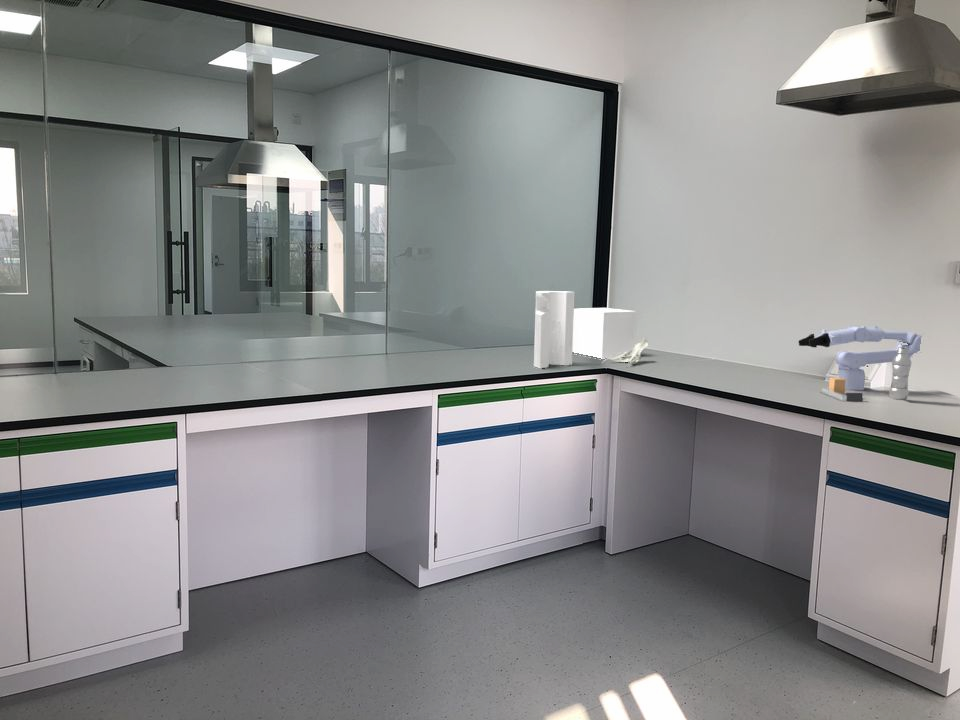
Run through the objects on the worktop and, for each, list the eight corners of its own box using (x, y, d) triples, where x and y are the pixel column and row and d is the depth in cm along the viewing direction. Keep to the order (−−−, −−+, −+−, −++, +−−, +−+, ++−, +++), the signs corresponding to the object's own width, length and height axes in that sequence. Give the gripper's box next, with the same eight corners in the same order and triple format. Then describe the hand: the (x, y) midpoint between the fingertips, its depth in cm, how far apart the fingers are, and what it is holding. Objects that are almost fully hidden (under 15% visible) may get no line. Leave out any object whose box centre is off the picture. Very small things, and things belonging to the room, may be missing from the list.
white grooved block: (573, 365, 364) (541, 369, 351) (556, 362, 373) (524, 366, 360) (575, 292, 359) (543, 292, 346) (558, 290, 368) (526, 291, 355)
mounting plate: (843, 394, 300) (844, 385, 299) (866, 403, 282) (867, 393, 281) (819, 394, 300) (820, 384, 299) (840, 403, 282) (841, 393, 281)
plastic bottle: (901, 398, 293) (906, 347, 291) (911, 402, 287) (916, 349, 284) (884, 398, 293) (889, 346, 290) (894, 402, 286) (899, 349, 284)
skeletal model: (600, 363, 373) (626, 327, 383) (608, 376, 378) (633, 340, 388) (626, 367, 361) (652, 329, 370) (634, 380, 366) (659, 342, 375)
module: (839, 392, 299) (840, 377, 298) (844, 394, 295) (845, 379, 294) (828, 392, 299) (829, 377, 298) (833, 394, 295) (834, 379, 294)
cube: (634, 358, 397) (636, 311, 394) (601, 360, 387) (603, 312, 383) (603, 352, 419) (605, 307, 415) (572, 354, 408) (573, 308, 405)
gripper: (824, 328, 313) (793, 333, 311) (845, 327, 299) (812, 332, 297) (826, 345, 313) (795, 350, 312) (847, 345, 299) (815, 350, 297)
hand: (804, 343), depth 304 cm, fingers open, 7 cm apart
